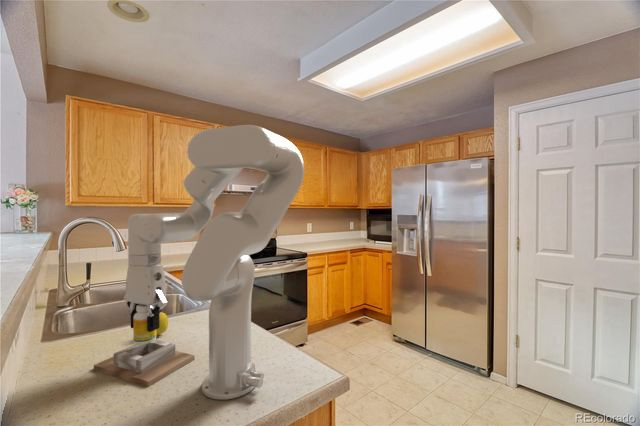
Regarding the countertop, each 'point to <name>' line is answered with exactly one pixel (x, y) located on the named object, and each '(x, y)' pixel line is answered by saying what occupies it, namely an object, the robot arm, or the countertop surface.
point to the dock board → (148, 374)
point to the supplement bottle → (142, 326)
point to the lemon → (162, 324)
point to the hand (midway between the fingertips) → (145, 327)
